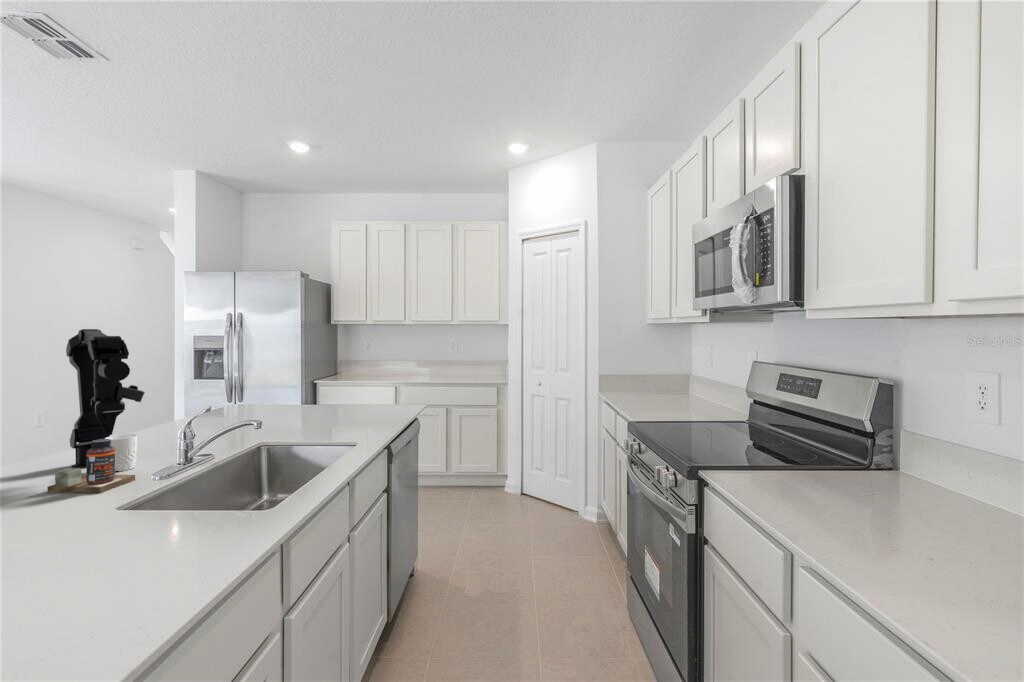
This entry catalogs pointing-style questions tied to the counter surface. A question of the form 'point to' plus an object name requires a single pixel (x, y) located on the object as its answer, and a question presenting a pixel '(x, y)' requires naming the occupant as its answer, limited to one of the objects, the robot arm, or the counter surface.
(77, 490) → the board
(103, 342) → the robot arm
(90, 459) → the supplement bottle
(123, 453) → the white cup
